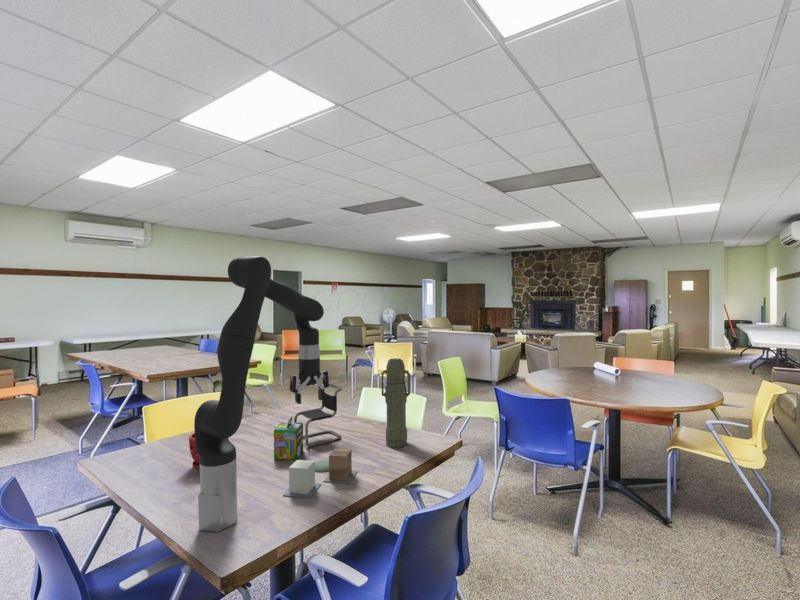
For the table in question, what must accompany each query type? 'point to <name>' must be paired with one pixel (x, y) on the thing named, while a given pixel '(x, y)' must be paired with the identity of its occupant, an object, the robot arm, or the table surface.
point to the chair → (321, 416)
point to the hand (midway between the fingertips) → (309, 401)
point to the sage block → (301, 476)
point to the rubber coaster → (321, 466)
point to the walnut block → (340, 464)
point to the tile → (341, 480)
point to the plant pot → (194, 452)
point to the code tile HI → (303, 494)
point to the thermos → (396, 403)
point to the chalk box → (288, 440)
